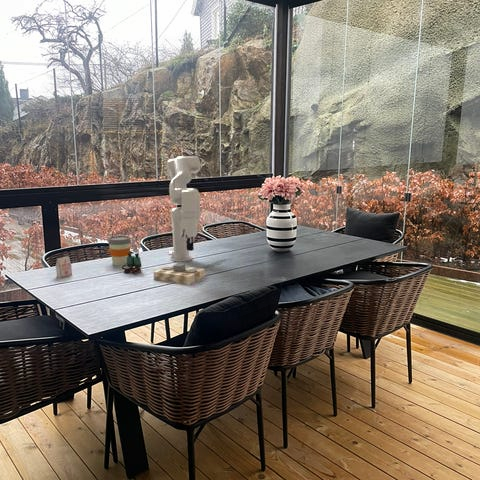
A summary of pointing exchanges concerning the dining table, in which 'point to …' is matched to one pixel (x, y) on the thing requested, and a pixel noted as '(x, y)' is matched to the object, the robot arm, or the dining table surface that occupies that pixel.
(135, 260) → the green tank cart
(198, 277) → the switch unit
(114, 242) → the reusable coffee cup
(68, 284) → the dining table surface
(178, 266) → the button
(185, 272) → the button
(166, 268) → the button
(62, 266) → the tea bag
